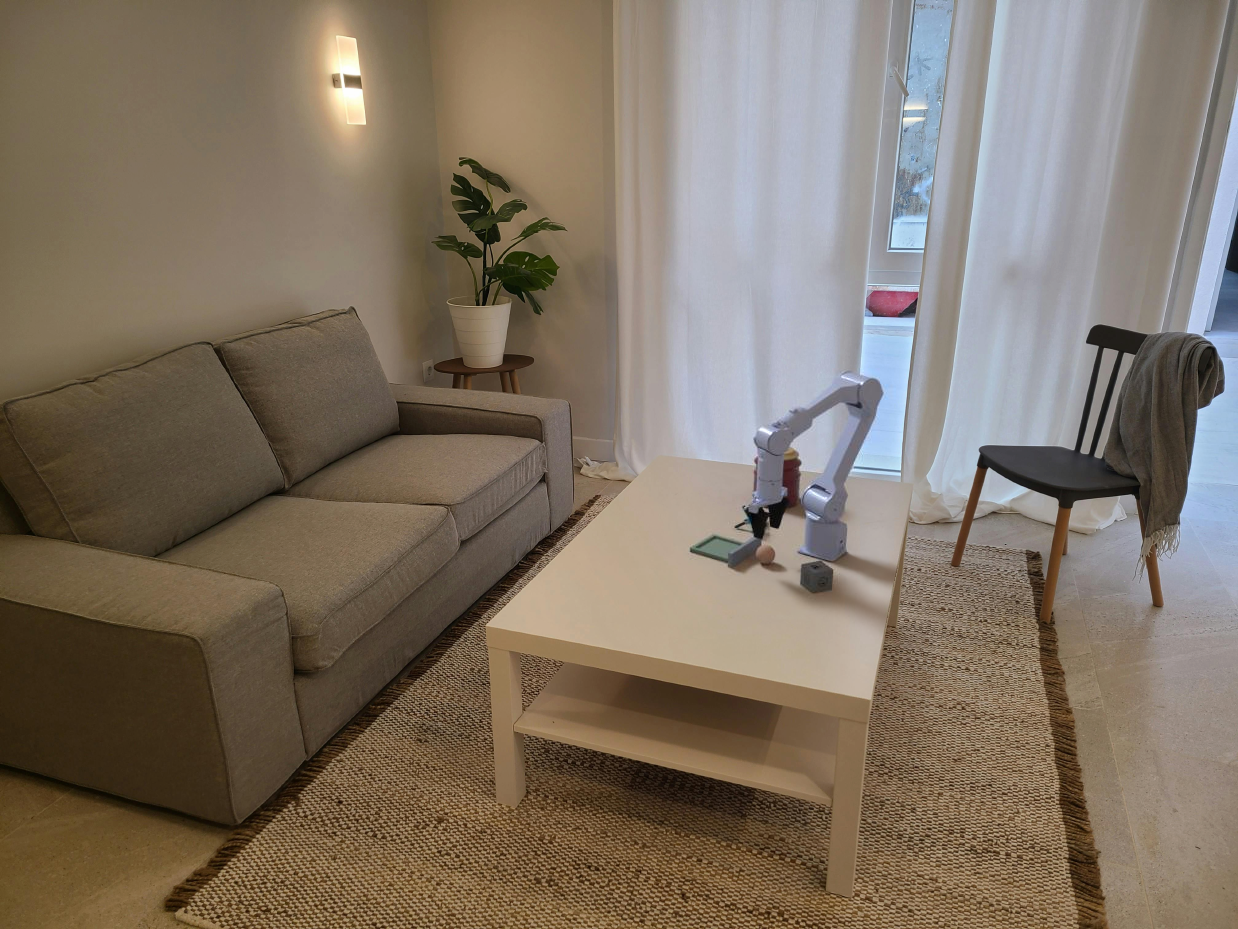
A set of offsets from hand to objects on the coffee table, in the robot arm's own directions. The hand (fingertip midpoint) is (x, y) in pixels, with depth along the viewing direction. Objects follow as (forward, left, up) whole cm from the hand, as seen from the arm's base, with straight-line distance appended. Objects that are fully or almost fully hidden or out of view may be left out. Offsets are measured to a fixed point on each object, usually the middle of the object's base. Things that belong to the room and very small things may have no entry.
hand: (766, 532), depth 200 cm
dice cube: (-15, +4, -8) cm, 17 cm away
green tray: (+12, 0, -8) cm, 15 cm away
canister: (+18, -38, -8) cm, 43 cm away
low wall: (+5, 0, -8) cm, 10 cm away
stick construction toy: (+14, -17, -8) cm, 23 cm away
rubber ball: (0, 0, -6) cm, 6 cm away
